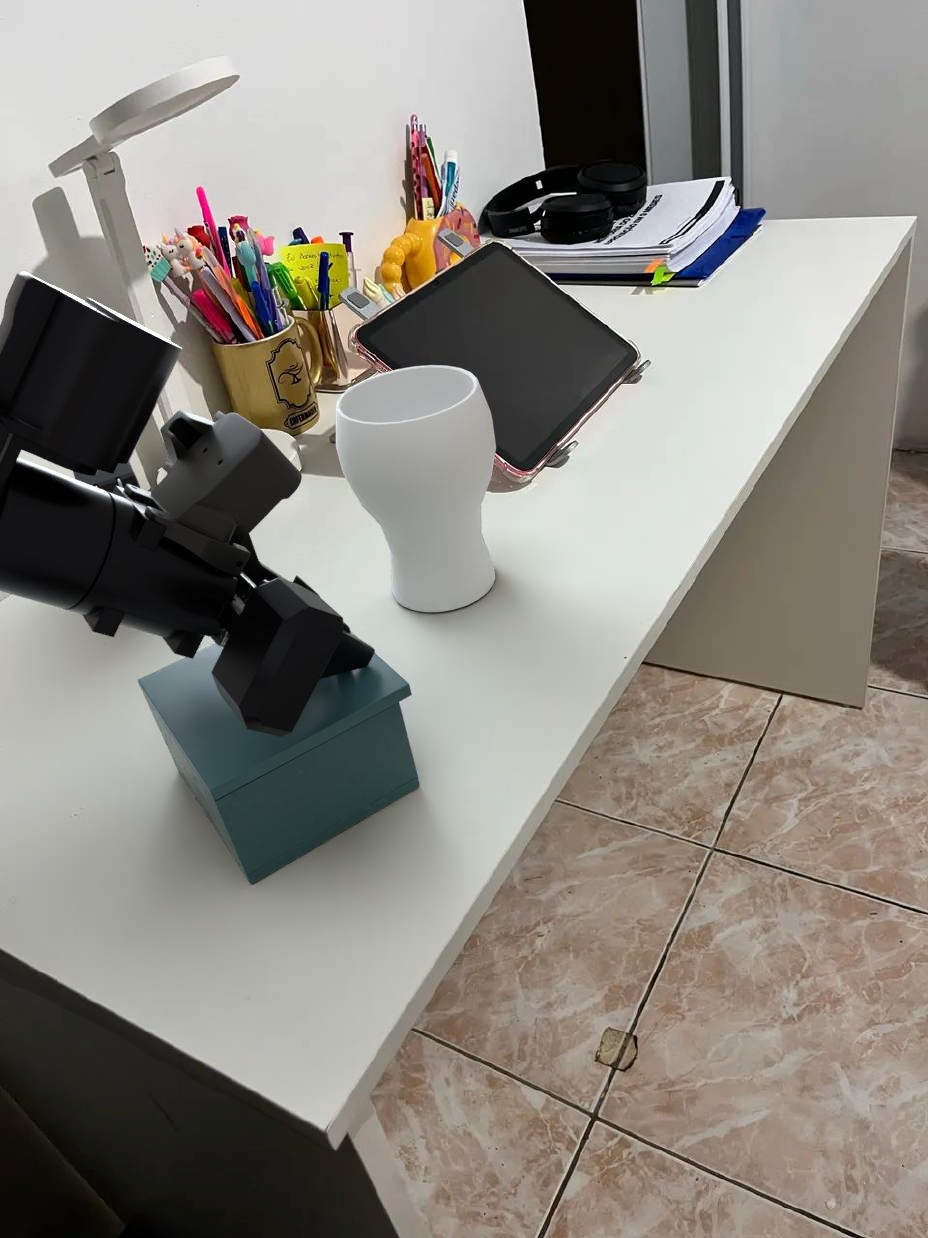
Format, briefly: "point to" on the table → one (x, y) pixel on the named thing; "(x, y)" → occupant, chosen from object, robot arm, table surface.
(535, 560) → the table surface
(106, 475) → the electronic device
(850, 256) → the table surface
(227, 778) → the box lid
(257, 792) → the teal box
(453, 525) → the white vase
